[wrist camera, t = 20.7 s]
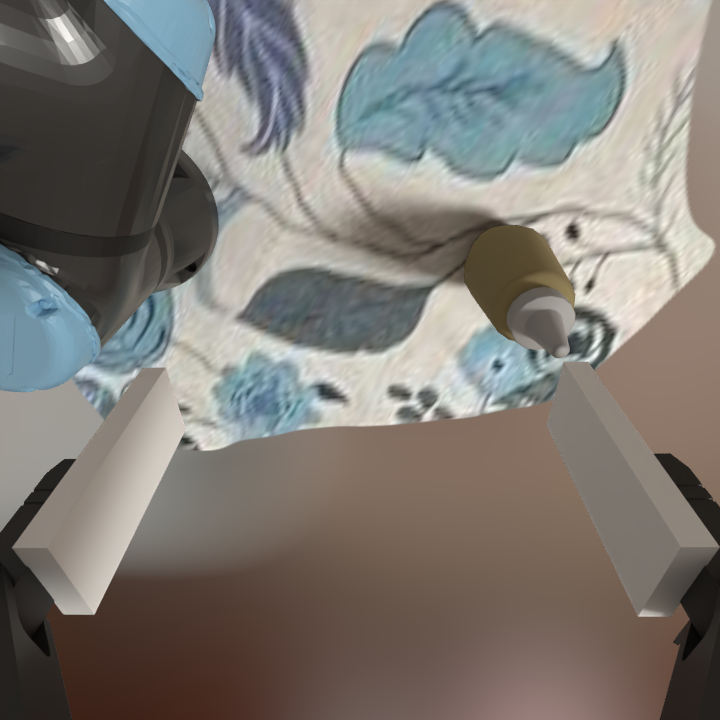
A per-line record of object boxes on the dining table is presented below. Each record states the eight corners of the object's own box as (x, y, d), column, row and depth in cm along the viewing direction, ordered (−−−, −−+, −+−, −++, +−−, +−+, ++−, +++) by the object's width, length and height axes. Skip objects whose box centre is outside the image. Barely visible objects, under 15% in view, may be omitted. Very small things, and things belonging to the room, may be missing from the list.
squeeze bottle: (508, 301, 48) (570, 411, 33) (442, 272, 46) (476, 374, 31) (556, 233, 44) (651, 325, 29) (485, 199, 42) (548, 276, 27)
